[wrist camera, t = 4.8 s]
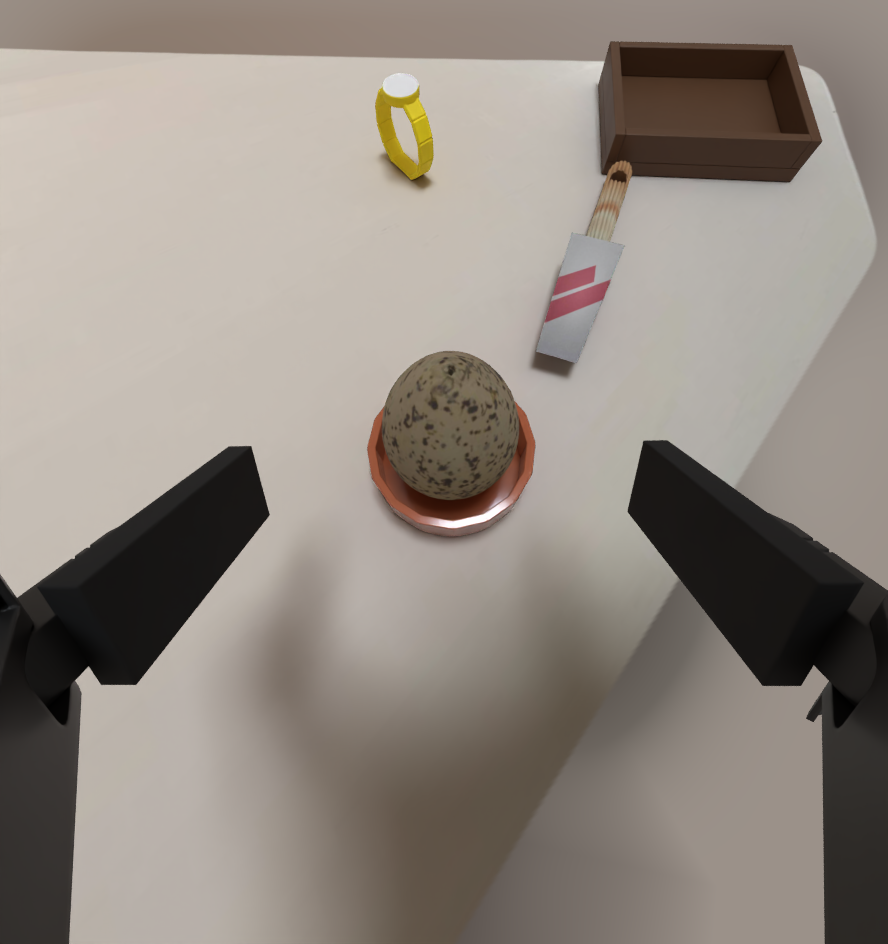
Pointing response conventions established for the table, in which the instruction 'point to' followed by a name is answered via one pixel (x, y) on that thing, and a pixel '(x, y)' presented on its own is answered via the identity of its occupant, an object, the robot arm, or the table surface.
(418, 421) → the decorative egg
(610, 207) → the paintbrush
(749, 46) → the tray
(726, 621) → the robot arm
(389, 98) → the watch
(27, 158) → the table surface
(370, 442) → the shallow dish
